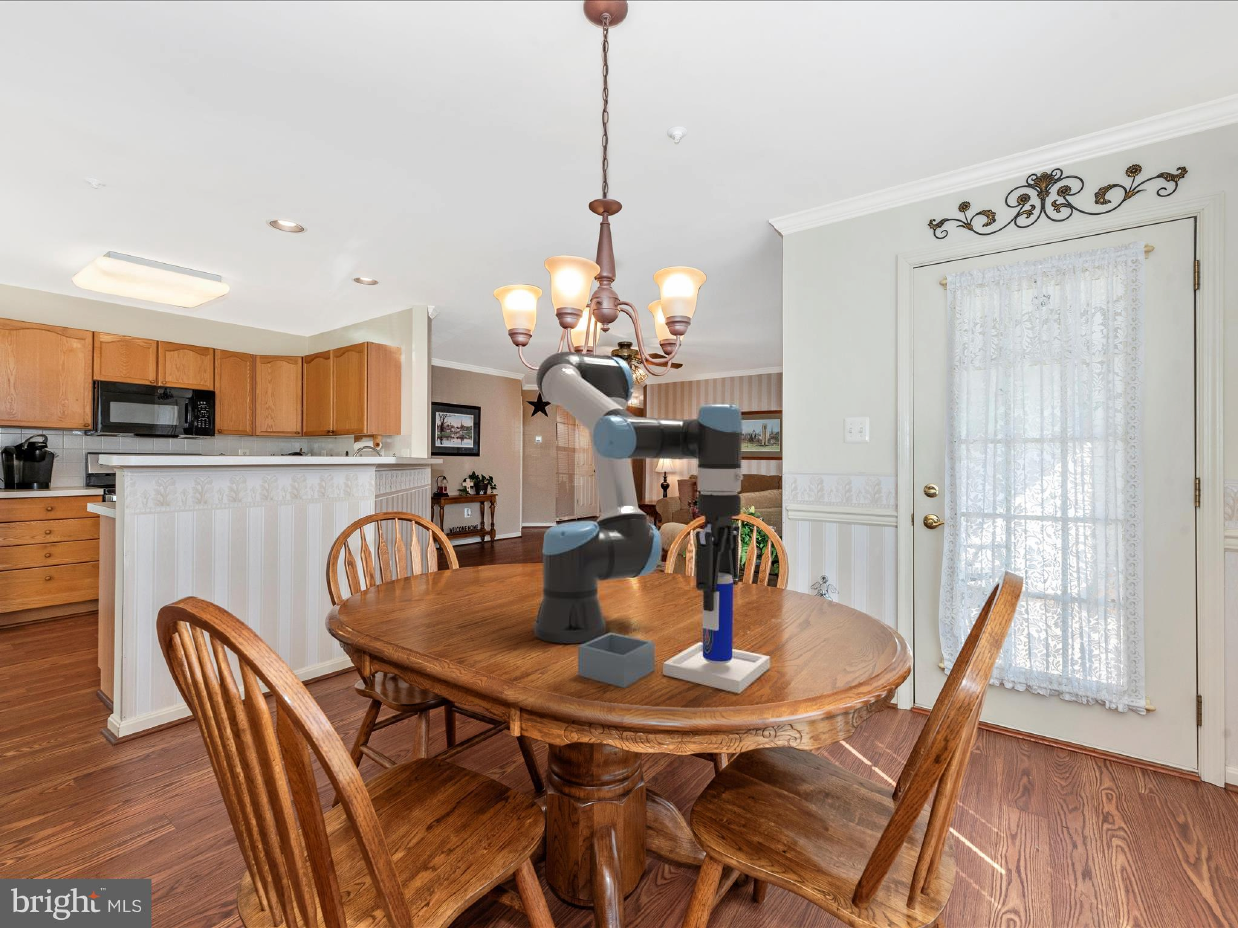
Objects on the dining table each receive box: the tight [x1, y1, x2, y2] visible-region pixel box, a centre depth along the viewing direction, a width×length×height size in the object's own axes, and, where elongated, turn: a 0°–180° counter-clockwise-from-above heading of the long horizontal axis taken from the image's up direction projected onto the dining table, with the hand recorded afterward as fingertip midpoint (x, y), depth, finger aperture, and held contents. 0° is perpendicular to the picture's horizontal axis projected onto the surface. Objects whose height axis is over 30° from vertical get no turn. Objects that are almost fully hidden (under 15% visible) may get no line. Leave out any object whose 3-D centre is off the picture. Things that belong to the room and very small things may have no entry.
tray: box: [662, 641, 771, 695], centre depth 101 cm, size 14×14×2 cm
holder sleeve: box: [577, 632, 656, 689], centre depth 100 cm, size 10×10×5 cm
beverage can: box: [702, 573, 734, 664], centre depth 101 cm, size 5×5×15 cm
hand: (717, 624), depth 101 cm, fingers closed on beverage can, 5 cm apart
